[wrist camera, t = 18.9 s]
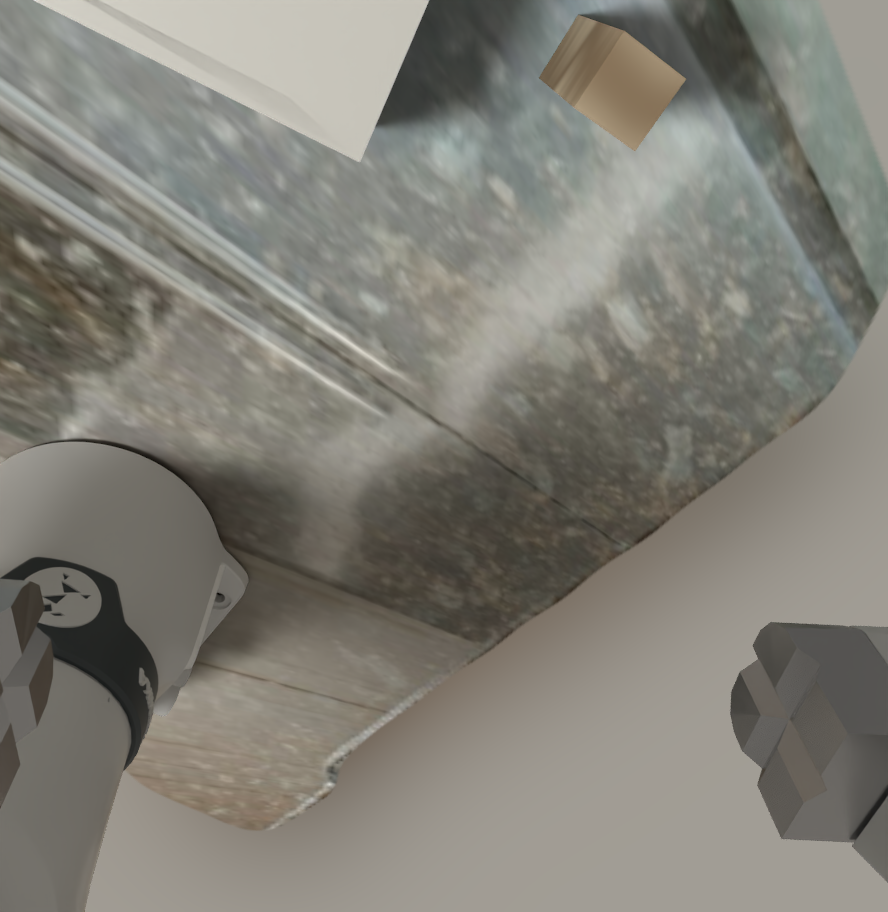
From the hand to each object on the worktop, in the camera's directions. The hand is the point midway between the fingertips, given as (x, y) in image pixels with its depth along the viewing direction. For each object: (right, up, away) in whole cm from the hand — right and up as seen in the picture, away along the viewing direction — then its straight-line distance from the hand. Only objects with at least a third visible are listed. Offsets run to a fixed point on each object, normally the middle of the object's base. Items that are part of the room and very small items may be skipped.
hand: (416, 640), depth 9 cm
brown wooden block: (+7, +20, +27) cm, 34 cm away
